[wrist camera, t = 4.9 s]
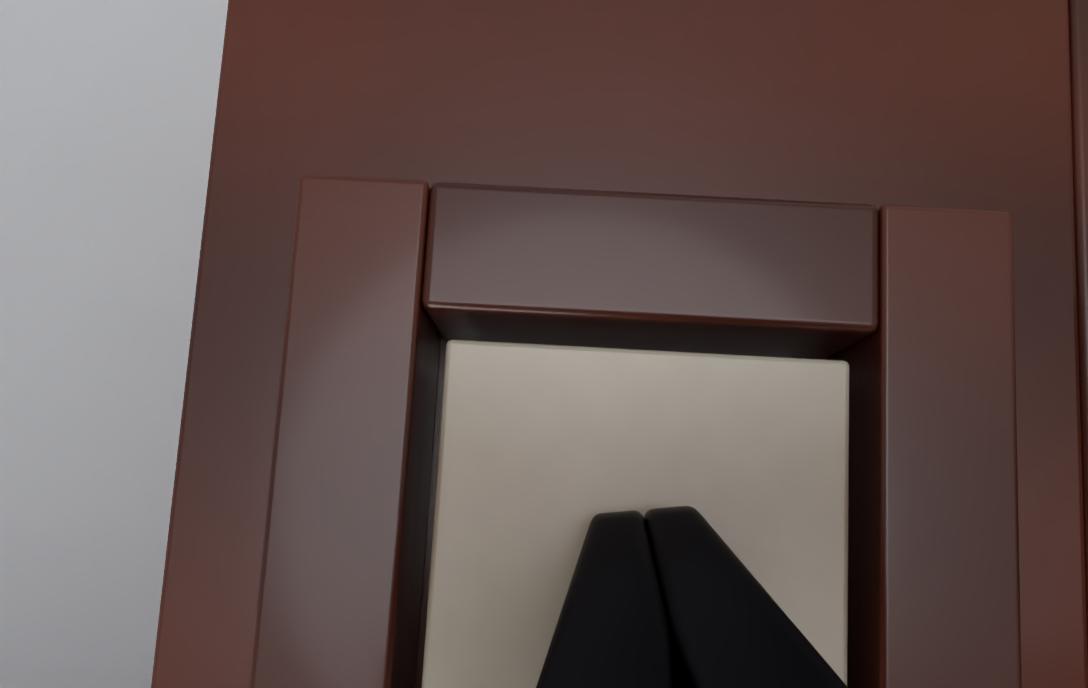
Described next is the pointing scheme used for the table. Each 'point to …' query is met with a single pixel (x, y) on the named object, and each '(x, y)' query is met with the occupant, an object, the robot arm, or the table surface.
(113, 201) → the table surface
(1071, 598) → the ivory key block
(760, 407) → the ivory key
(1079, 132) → the brown wooden block
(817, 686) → the robot arm
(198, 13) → the table surface
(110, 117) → the table surface
